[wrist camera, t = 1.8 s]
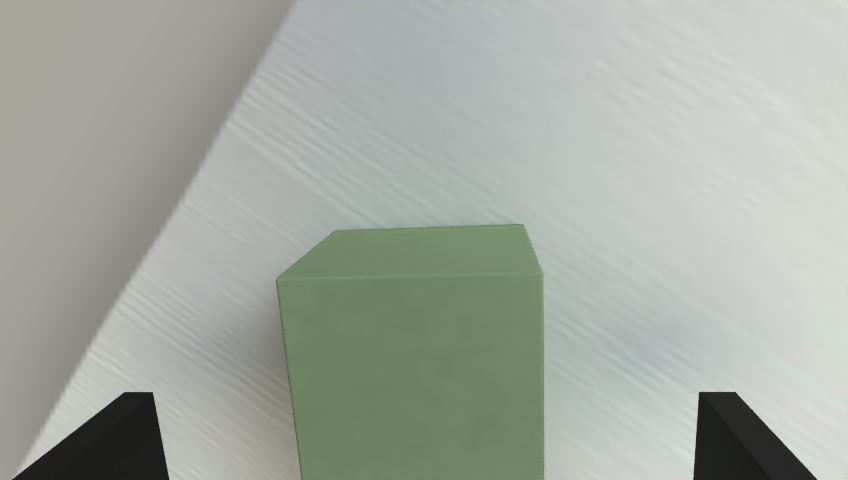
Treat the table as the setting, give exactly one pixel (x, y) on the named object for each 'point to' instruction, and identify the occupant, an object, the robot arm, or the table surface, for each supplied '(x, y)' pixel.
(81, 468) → the robot arm
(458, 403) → the green rectangular block
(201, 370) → the table surface
